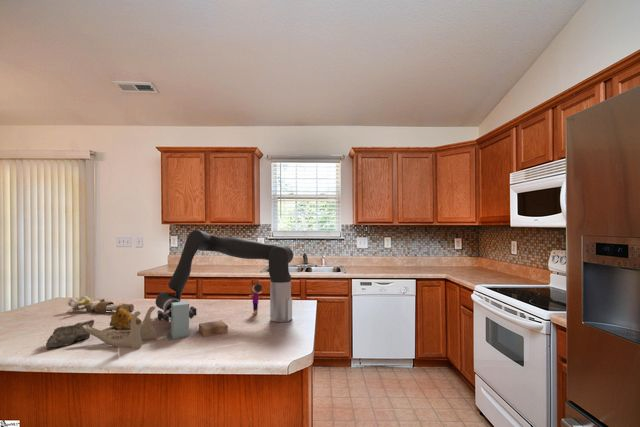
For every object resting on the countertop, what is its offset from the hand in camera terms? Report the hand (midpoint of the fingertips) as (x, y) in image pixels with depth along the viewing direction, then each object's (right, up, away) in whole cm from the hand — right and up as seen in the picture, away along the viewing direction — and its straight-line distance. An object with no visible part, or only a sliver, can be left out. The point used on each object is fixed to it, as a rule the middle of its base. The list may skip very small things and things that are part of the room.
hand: (180, 317), depth 128 cm
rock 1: (-37, -7, -7) cm, 39 cm away
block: (0, -7, -1) cm, 7 cm away
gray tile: (0, -7, -1) cm, 7 cm away
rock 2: (-27, -8, +10) cm, 30 cm away
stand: (+11, -7, +4) cm, 14 cm away
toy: (+24, -8, +31) cm, 40 cm away
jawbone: (-19, -7, -9) cm, 22 cm away
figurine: (-54, -9, +36) cm, 65 cm away
